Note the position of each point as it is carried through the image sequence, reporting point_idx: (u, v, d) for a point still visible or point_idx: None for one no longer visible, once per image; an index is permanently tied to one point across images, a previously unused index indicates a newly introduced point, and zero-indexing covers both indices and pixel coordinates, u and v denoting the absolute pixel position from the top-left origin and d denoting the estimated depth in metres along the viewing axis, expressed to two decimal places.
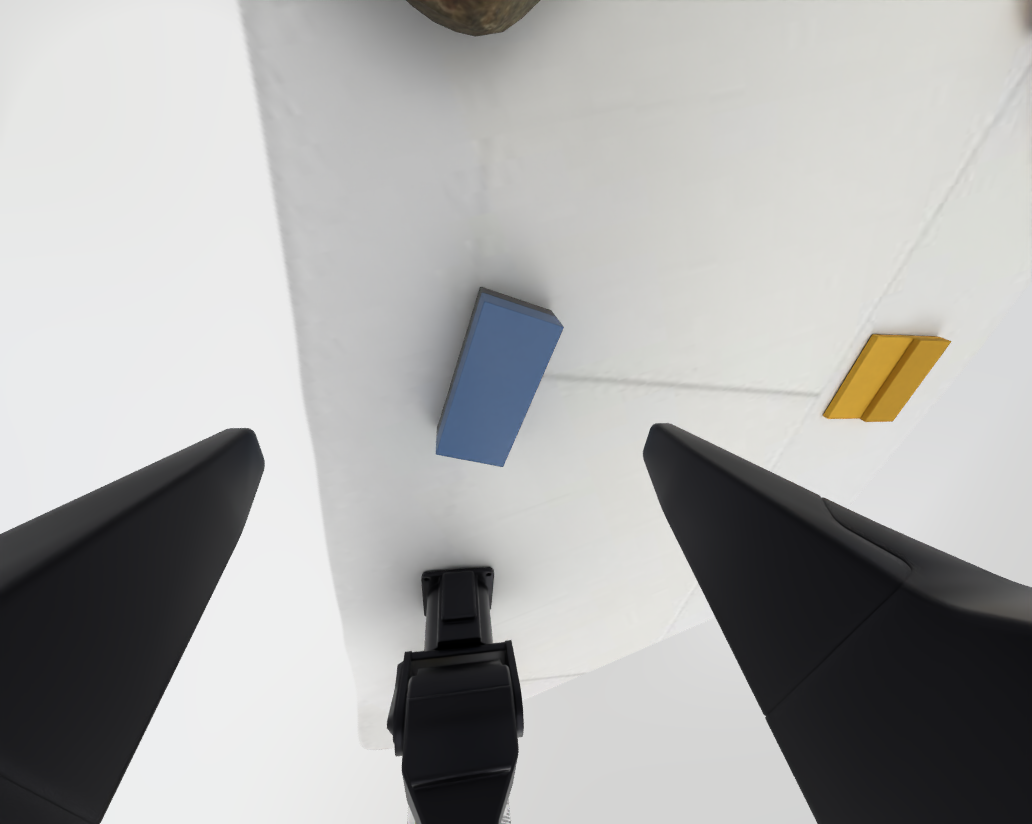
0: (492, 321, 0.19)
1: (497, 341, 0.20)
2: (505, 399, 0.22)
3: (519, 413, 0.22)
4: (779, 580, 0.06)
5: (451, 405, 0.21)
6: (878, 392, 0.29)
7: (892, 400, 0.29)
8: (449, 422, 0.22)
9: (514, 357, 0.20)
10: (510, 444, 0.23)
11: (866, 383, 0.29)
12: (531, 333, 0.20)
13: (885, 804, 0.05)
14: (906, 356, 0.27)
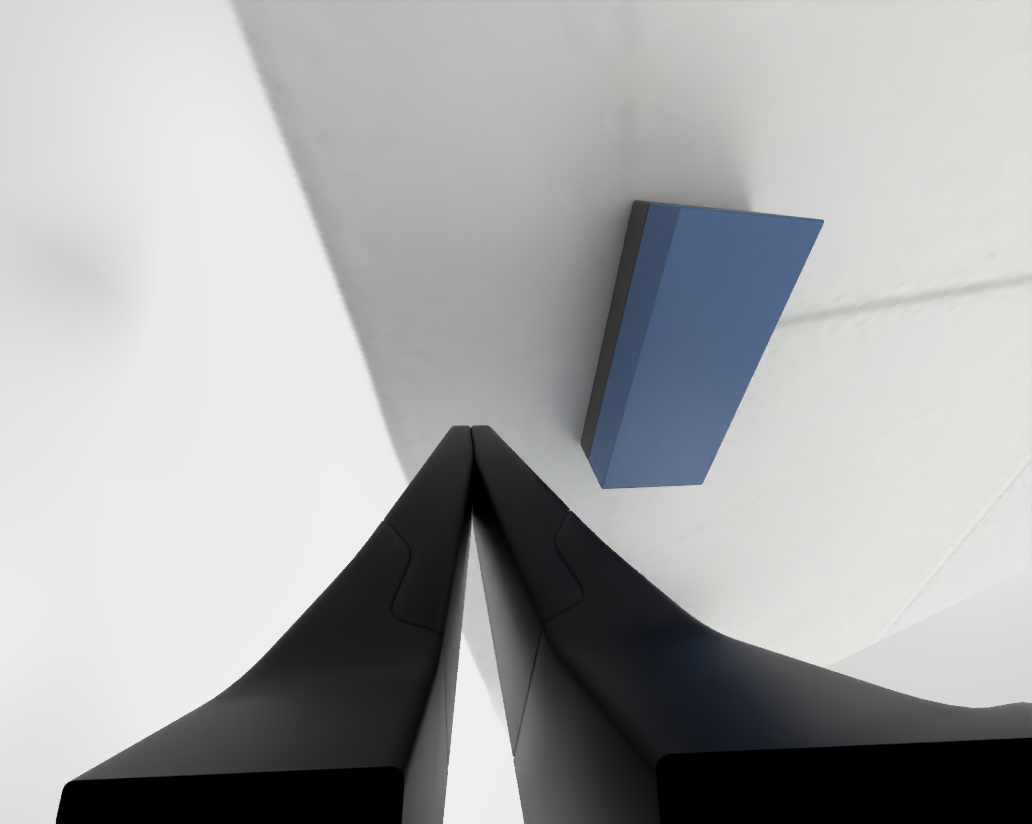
0: (694, 243, 0.10)
1: (702, 280, 0.11)
2: (711, 380, 0.13)
3: (732, 398, 0.13)
4: (508, 606, 0.05)
5: (623, 410, 0.13)
6: None
7: None
8: (621, 437, 0.14)
9: (730, 303, 0.11)
10: (715, 449, 0.15)
11: None
12: (764, 249, 0.11)
13: None
14: None
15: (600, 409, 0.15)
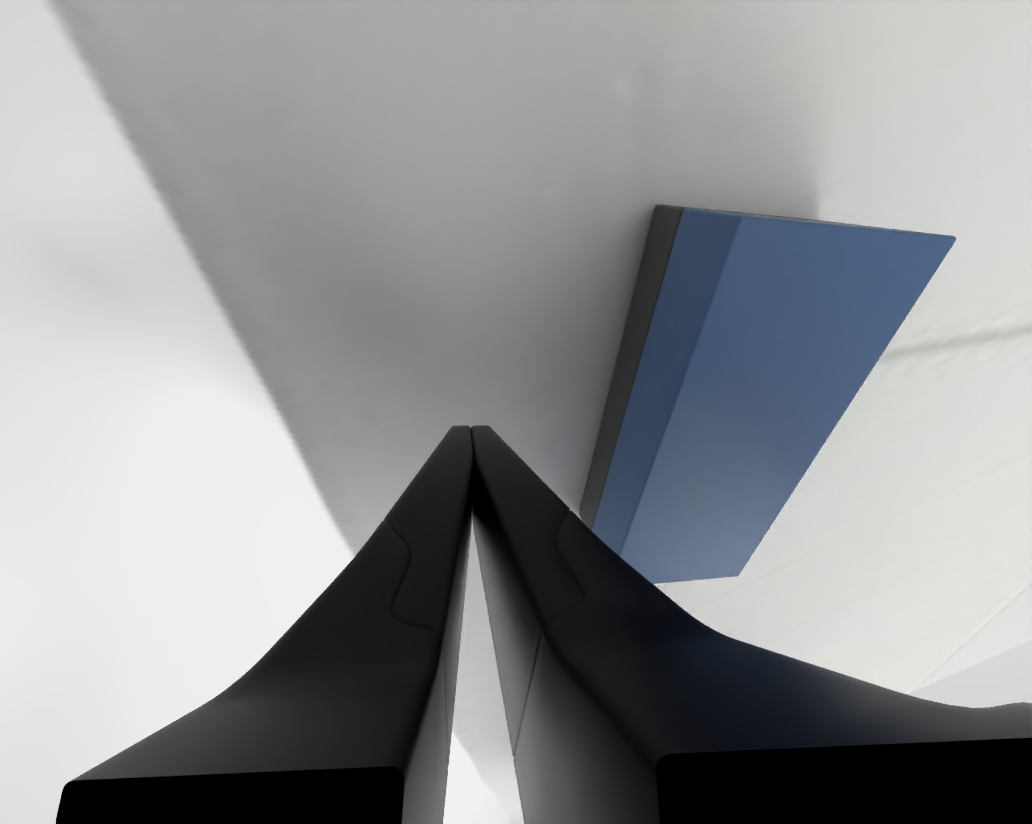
0: (757, 274, 0.07)
1: (763, 327, 0.07)
2: (763, 457, 0.09)
3: (789, 478, 0.10)
4: (508, 606, 0.05)
5: (638, 498, 0.09)
6: None
7: None
8: (635, 530, 0.10)
9: (801, 358, 0.08)
10: (759, 537, 0.11)
11: None
12: (860, 281, 0.07)
13: None
14: None
15: (605, 481, 0.11)
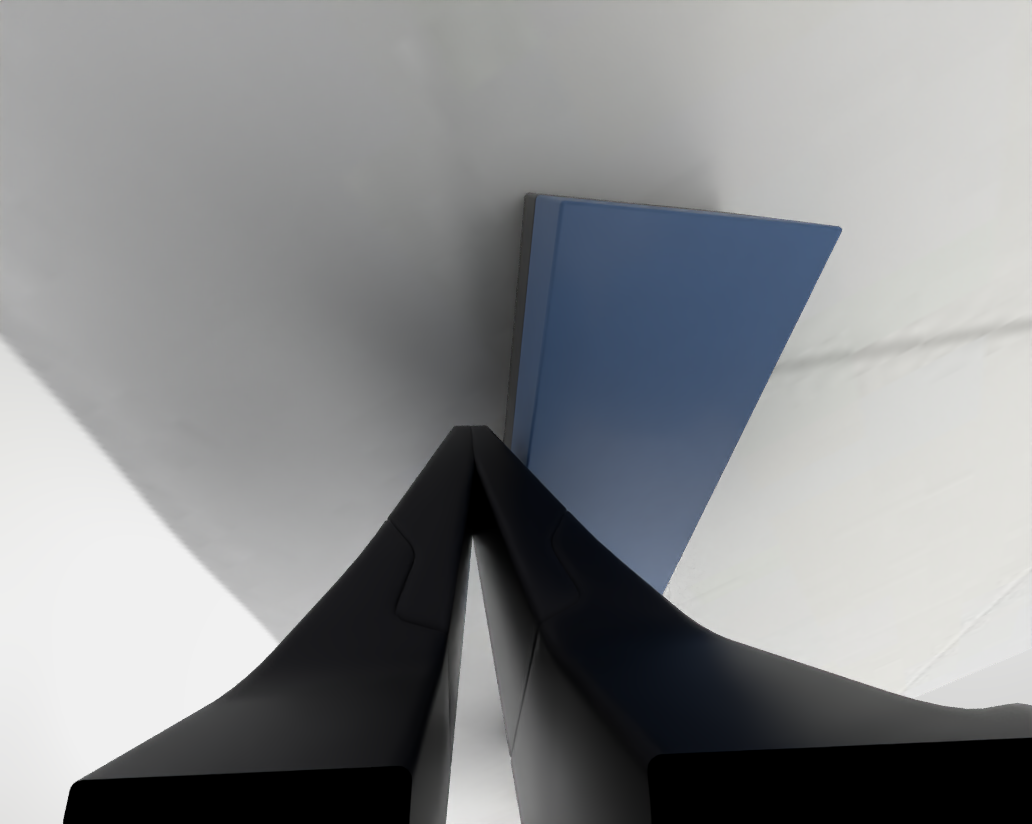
0: (599, 272, 0.05)
1: (622, 333, 0.06)
2: (657, 480, 0.08)
3: (693, 501, 0.09)
4: (504, 607, 0.05)
5: None
6: None
7: None
8: None
9: (677, 369, 0.07)
10: (672, 564, 0.10)
11: None
12: (731, 279, 0.06)
13: None
14: None
15: None
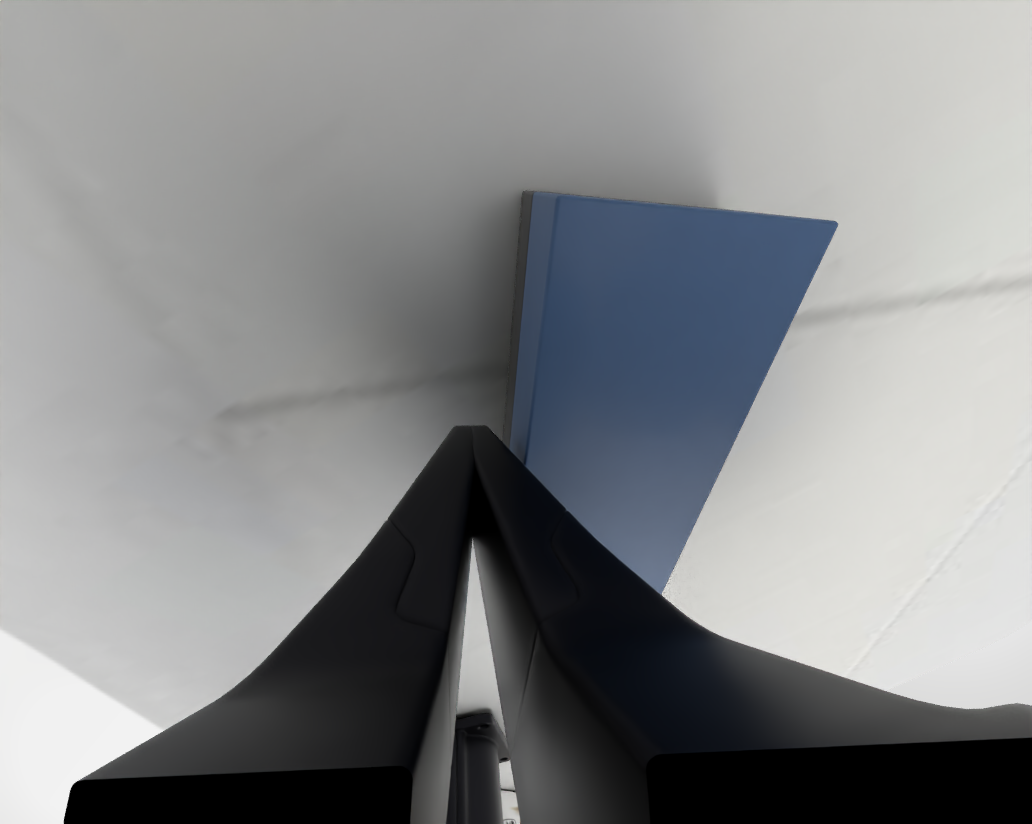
0: (596, 266, 0.06)
1: (619, 329, 0.06)
2: (655, 476, 0.08)
3: (692, 498, 0.09)
4: (503, 607, 0.05)
5: None
6: None
7: None
8: None
9: (674, 364, 0.07)
10: (672, 562, 0.10)
11: None
12: (728, 274, 0.06)
13: None
14: None
15: None
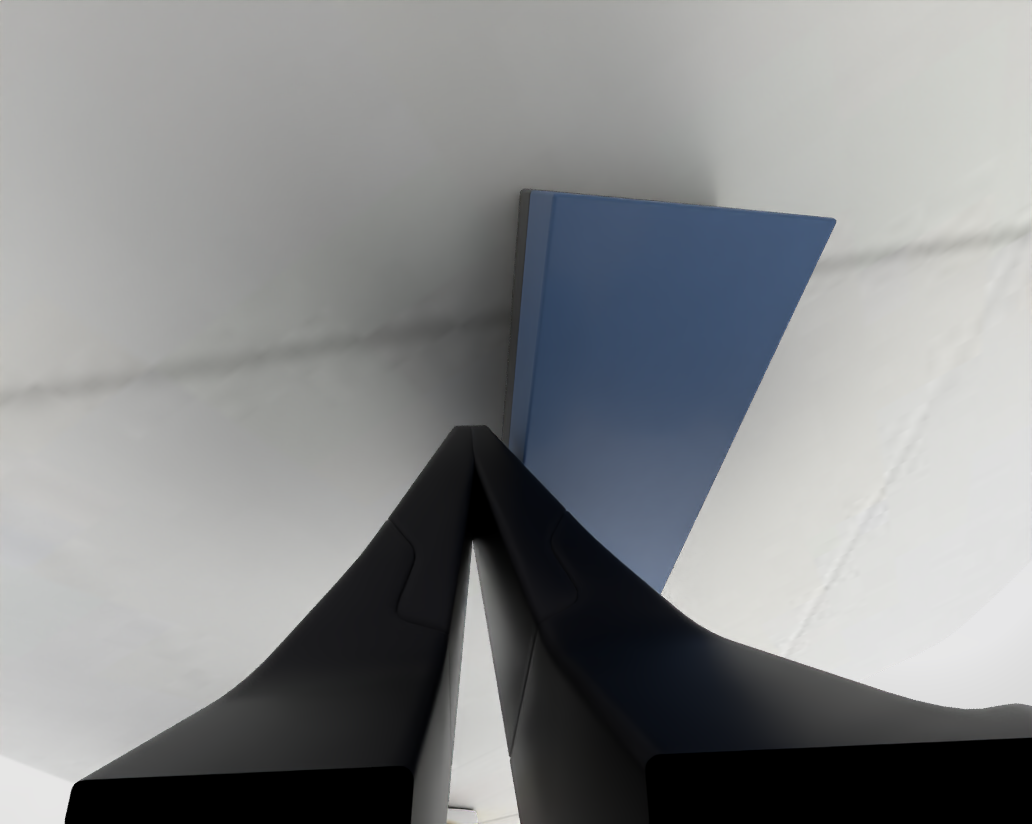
0: (593, 264, 0.05)
1: (617, 327, 0.06)
2: (654, 475, 0.08)
3: (691, 497, 0.09)
4: (503, 606, 0.05)
5: None
6: None
7: None
8: None
9: (673, 363, 0.07)
10: (671, 561, 0.10)
11: None
12: (726, 272, 0.06)
13: None
14: None
15: None
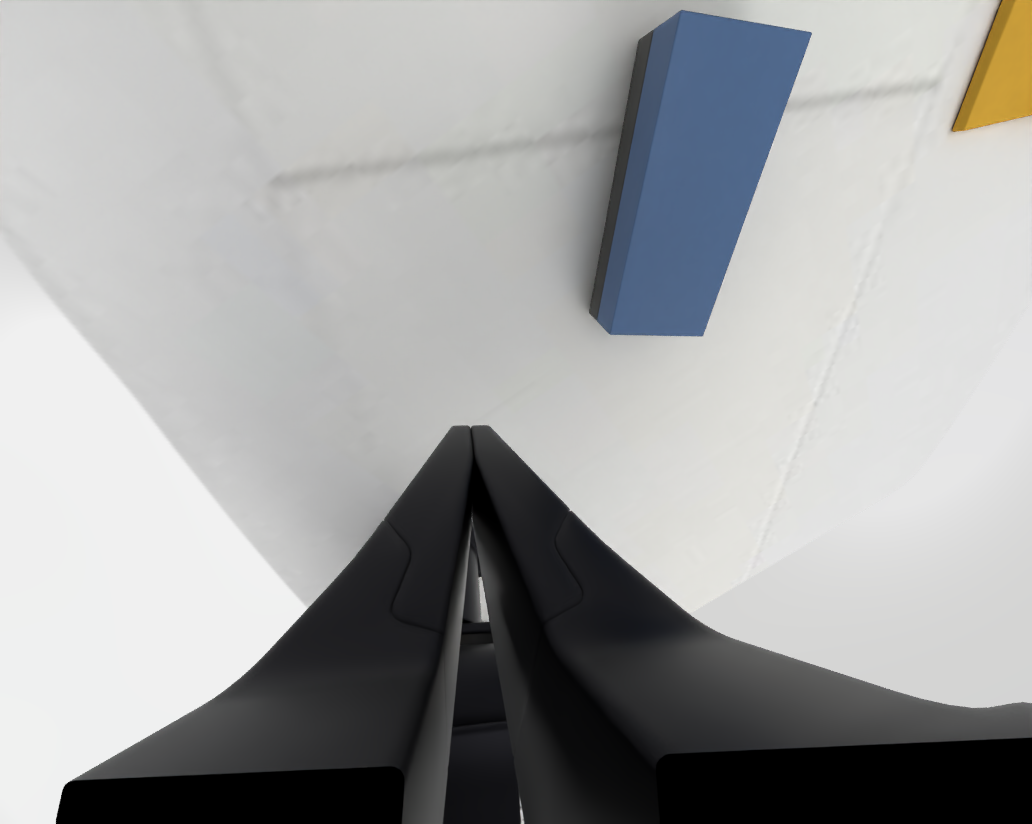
0: (693, 53, 0.11)
1: (700, 94, 0.12)
2: (710, 212, 0.14)
3: (730, 234, 0.15)
4: (508, 606, 0.05)
5: (629, 243, 0.14)
6: None
7: None
8: (628, 274, 0.15)
9: (727, 122, 0.13)
10: (714, 294, 0.16)
11: None
12: (757, 62, 0.12)
13: None
14: None
15: (608, 261, 0.16)
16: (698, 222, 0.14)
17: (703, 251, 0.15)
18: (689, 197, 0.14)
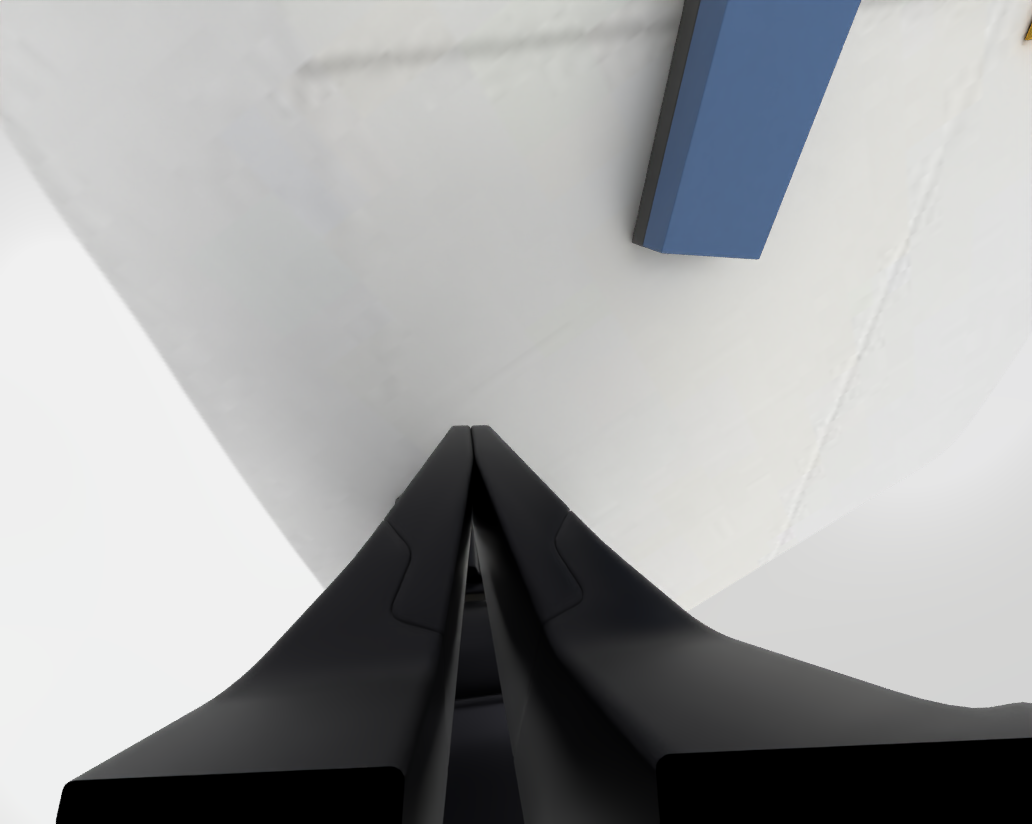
0: None
1: None
2: (780, 105, 0.13)
3: (798, 134, 0.13)
4: (507, 606, 0.05)
5: (690, 141, 0.13)
6: None
7: None
8: (686, 178, 0.14)
9: None
10: (776, 208, 0.15)
11: None
12: None
13: None
14: None
15: (659, 174, 0.15)
16: (766, 117, 0.13)
17: (768, 154, 0.14)
18: (759, 85, 0.12)
